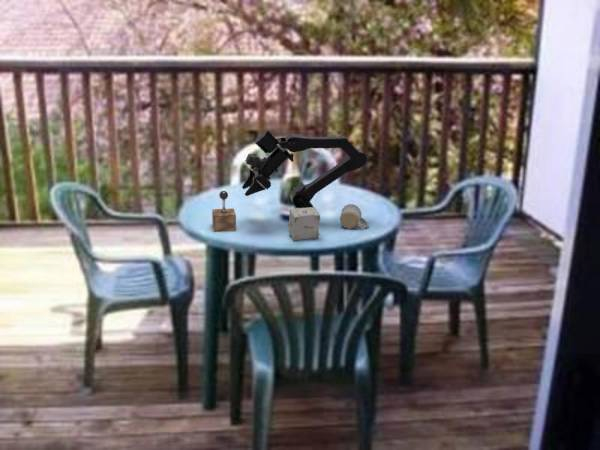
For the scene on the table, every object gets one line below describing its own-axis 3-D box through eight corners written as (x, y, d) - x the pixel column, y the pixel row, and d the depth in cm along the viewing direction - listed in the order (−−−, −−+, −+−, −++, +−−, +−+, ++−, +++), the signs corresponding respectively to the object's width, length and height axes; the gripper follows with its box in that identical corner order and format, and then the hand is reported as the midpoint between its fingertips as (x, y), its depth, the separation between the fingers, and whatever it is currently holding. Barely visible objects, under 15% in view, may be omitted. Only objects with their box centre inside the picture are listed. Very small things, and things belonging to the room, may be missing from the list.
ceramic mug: (338, 229, 279) (340, 209, 277) (341, 222, 287) (342, 203, 284) (367, 231, 278) (368, 211, 275) (368, 224, 286) (370, 205, 283)
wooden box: (233, 223, 283) (233, 208, 281) (236, 230, 275) (235, 215, 273) (212, 224, 281) (212, 209, 279) (214, 231, 274) (213, 215, 272)
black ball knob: (231, 212, 280) (231, 188, 277) (232, 217, 275) (232, 193, 272) (215, 212, 279) (214, 188, 276) (216, 217, 273) (216, 193, 271)
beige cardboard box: (293, 242, 265) (294, 214, 261) (287, 234, 272) (288, 207, 269) (320, 240, 267) (321, 212, 264) (313, 232, 275) (314, 205, 272)
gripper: (255, 141, 280) (226, 170, 281) (261, 152, 262) (230, 184, 264) (276, 161, 284) (247, 190, 285) (283, 173, 266) (253, 204, 268)
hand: (244, 191), depth 275 cm, fingers open, 9 cm apart
